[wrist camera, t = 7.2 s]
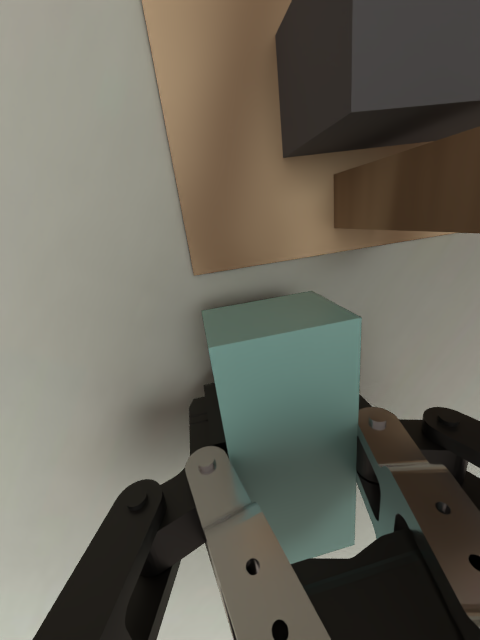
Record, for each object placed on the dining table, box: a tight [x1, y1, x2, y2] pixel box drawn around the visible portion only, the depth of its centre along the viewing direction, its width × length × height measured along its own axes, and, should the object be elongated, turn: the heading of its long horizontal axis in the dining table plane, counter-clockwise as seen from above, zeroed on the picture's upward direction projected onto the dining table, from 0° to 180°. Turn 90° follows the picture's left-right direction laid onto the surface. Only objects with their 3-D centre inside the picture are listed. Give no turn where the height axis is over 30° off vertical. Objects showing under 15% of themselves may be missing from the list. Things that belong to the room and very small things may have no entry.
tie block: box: [202, 291, 362, 564], centre depth 10 cm, size 4×9×3 cm, turn 8°
